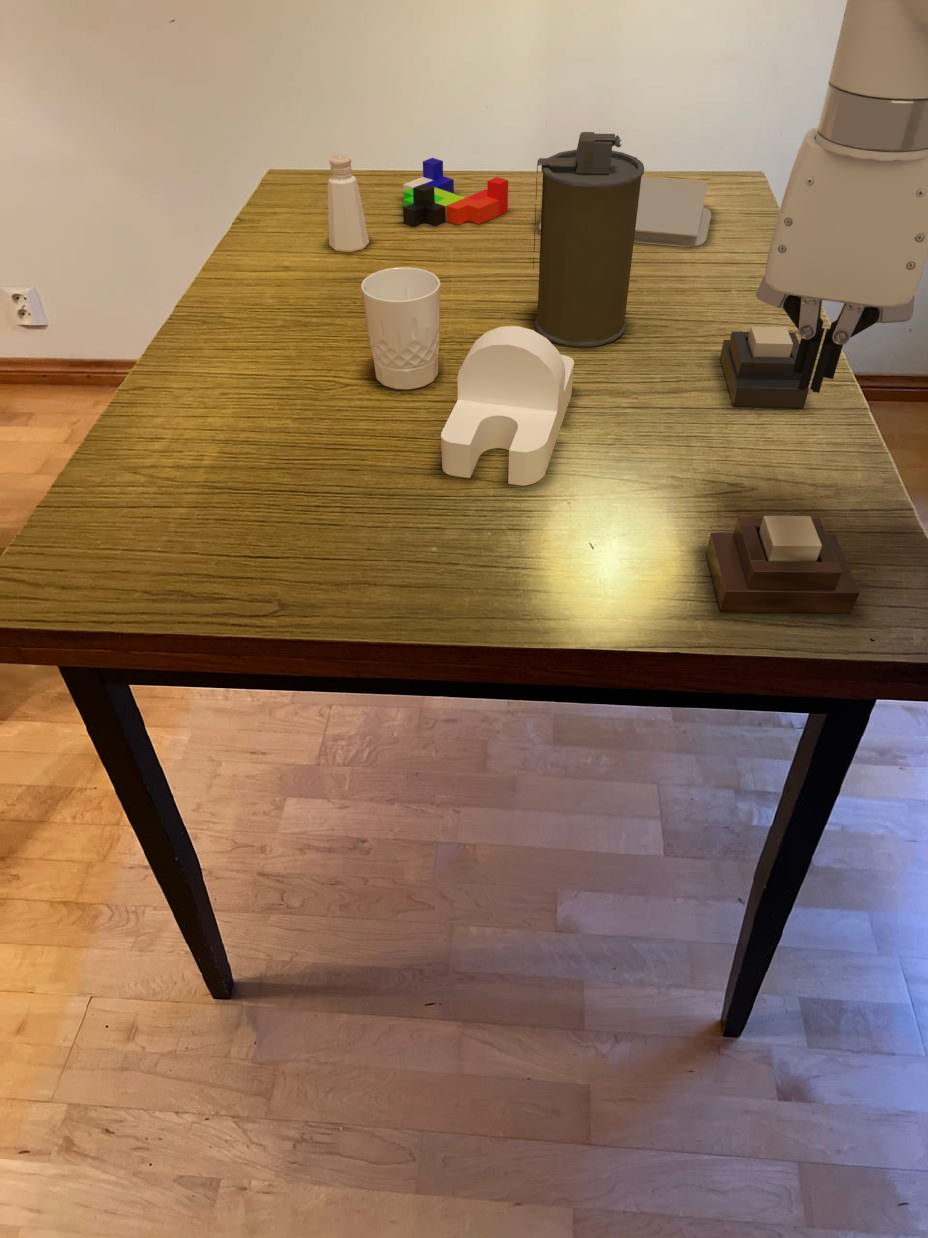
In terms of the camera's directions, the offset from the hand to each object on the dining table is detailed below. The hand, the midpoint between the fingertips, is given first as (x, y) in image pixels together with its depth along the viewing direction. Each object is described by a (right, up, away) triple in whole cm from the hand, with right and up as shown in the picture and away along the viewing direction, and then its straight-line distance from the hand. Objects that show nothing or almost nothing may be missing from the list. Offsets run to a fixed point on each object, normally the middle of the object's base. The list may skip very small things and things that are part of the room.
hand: (810, 382), depth 68 cm
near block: (-2, -15, +2) cm, 16 cm away
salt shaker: (-42, +33, +52) cm, 75 cm away
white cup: (-33, +8, +27) cm, 43 cm away
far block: (+4, +7, +24) cm, 26 cm away
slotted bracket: (-22, 0, +19) cm, 29 cm away
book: (-4, +38, +56) cm, 68 cm away
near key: (-2, -13, 0) cm, 13 cm away
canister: (-14, +16, +34) cm, 40 cm away
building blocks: (-30, +41, +60) cm, 78 cm away
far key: (+4, +9, +22) cm, 24 cm away
